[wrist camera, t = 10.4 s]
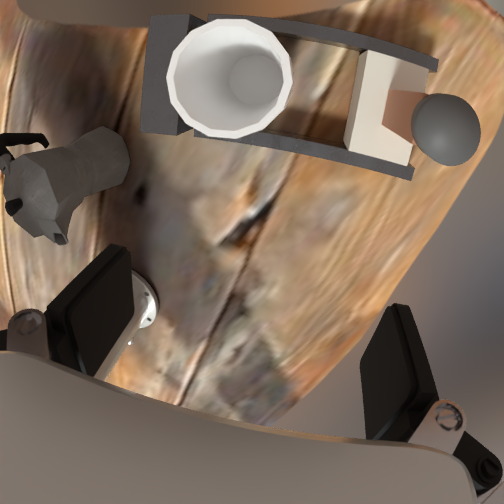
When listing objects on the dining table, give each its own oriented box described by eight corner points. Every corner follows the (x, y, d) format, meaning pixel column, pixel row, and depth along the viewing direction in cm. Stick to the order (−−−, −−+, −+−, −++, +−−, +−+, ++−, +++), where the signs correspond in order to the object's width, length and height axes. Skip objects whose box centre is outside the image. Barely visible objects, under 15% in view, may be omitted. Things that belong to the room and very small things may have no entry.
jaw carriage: (396, 154, 33) (456, 214, 18) (343, 140, 33) (367, 189, 18) (414, 72, 27) (494, 69, 12) (359, 55, 28) (400, 29, 13)
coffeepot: (153, 174, 40) (64, 237, 24) (112, 211, 44) (31, 280, 28) (88, 90, 35) (-17, 114, 19) (55, 134, 39) (-39, 175, 23)
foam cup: (201, 94, 34) (147, 103, 22) (240, 27, 29) (202, 0, 18) (272, 134, 35) (250, 161, 23) (316, 68, 30) (317, 57, 19)
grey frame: (404, 173, 34) (424, 196, 27) (171, 129, 36) (139, 141, 29) (429, 60, 26) (458, 57, 20) (183, 18, 29) (152, 6, 22)
